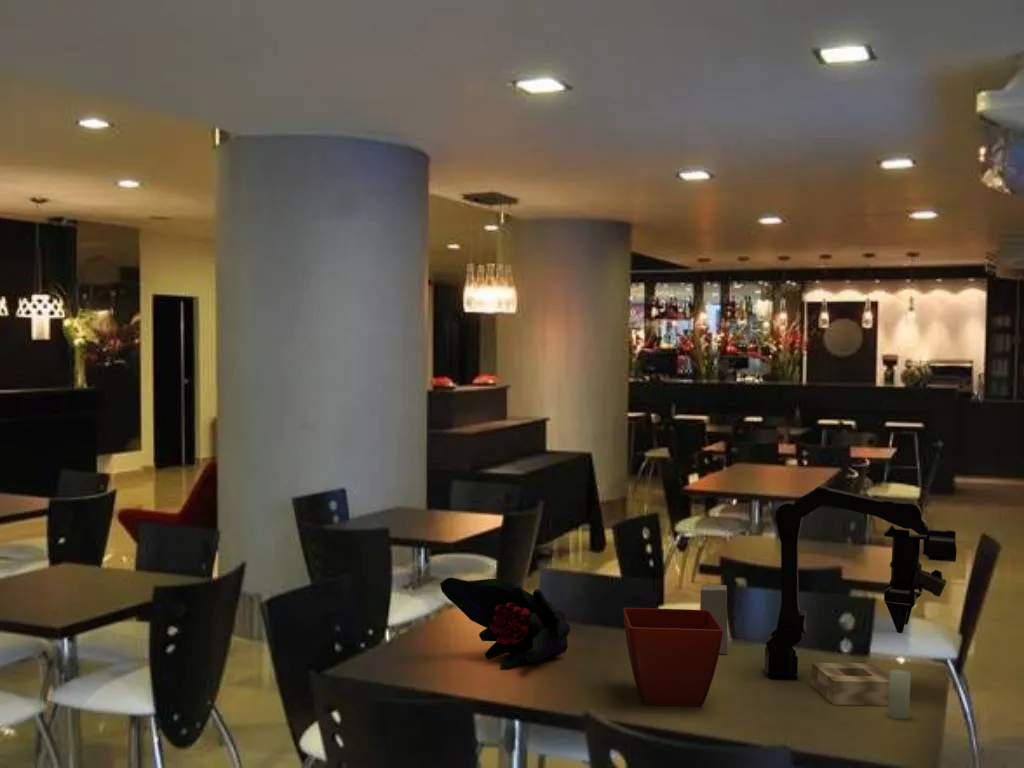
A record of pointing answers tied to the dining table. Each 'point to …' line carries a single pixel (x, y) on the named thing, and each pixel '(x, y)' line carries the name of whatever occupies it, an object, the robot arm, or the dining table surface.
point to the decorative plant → (510, 619)
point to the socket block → (851, 683)
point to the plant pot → (672, 653)
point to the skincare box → (716, 608)
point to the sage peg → (899, 694)
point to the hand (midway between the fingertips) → (902, 628)
